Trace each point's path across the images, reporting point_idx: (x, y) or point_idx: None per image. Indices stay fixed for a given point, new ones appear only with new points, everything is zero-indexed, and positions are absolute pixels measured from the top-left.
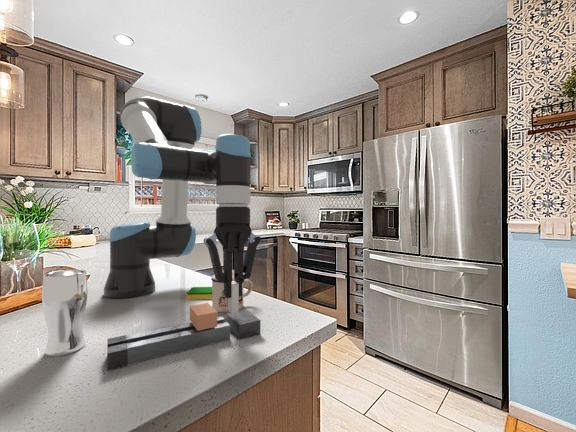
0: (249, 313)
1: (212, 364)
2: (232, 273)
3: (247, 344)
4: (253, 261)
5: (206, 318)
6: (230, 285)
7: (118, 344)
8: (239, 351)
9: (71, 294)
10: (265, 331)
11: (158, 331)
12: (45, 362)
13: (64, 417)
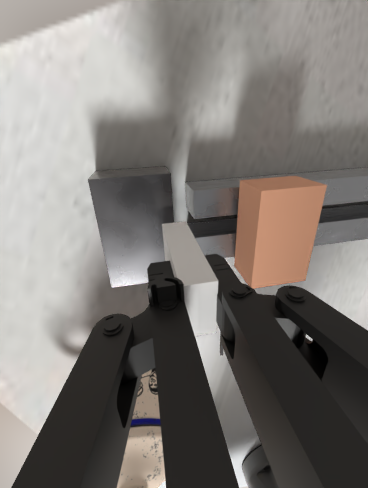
0: (109, 251)
1: (270, 61)
2: (122, 469)
3: (151, 126)
4: (23, 466)
5: (289, 184)
6: (218, 286)
7: None
8: (186, 94)
9: None
10: (73, 184)
11: (353, 227)
12: None
13: None
